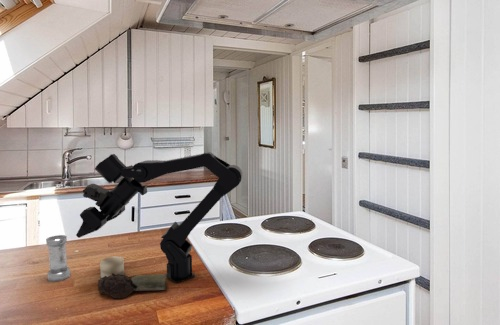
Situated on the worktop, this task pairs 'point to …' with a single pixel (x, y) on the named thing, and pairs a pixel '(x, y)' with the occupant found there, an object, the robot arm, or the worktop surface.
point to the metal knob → (57, 258)
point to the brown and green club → (130, 284)
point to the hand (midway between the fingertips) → (85, 231)
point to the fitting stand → (112, 266)
